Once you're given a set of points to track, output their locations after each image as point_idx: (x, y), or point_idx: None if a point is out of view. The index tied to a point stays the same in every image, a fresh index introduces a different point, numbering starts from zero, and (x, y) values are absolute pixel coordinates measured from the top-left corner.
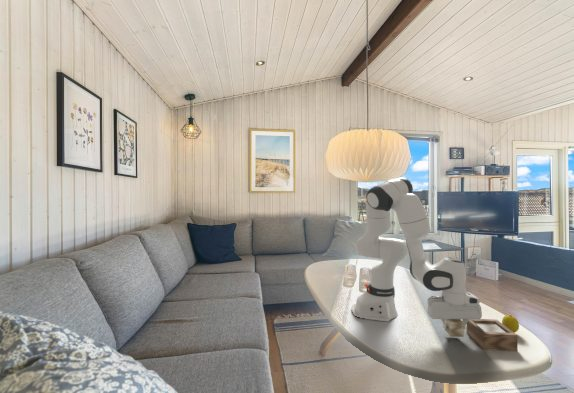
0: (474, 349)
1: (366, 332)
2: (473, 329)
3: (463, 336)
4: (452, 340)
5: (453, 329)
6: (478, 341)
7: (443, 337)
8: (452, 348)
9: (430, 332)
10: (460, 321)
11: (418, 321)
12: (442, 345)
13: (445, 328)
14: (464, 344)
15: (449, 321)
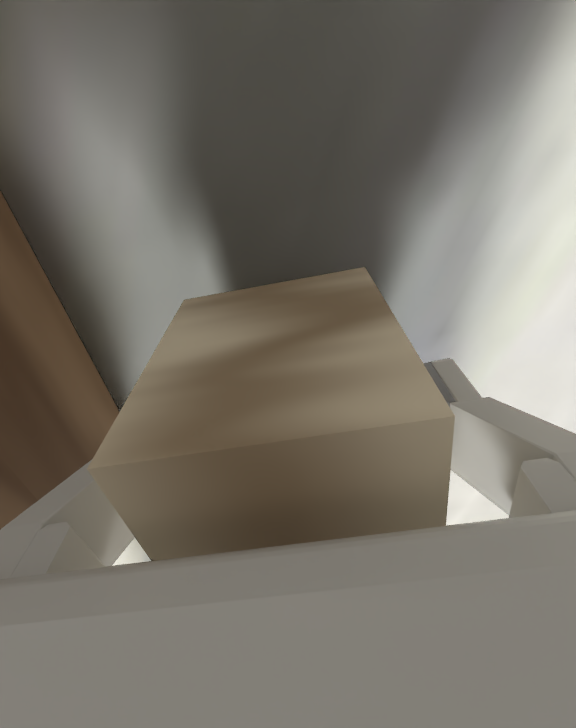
0: (88, 92)
1: None
2: (15, 429)
3: (185, 302)
4: (323, 273)
5: (338, 326)
6: (13, 269)
7: (404, 316)
8: (411, 26)
9: (499, 382)
10: (159, 502)
11: (503, 518)
12: (525, 92)
13: (445, 360)
14: (202, 209)
15: (447, 459)
